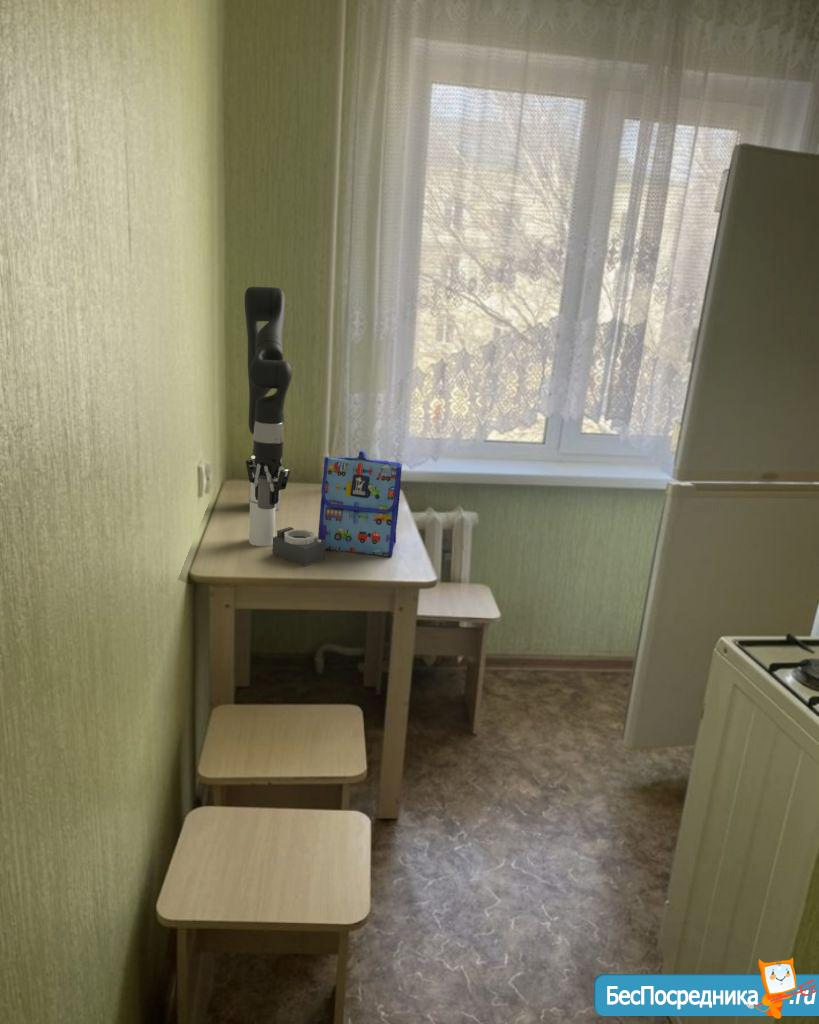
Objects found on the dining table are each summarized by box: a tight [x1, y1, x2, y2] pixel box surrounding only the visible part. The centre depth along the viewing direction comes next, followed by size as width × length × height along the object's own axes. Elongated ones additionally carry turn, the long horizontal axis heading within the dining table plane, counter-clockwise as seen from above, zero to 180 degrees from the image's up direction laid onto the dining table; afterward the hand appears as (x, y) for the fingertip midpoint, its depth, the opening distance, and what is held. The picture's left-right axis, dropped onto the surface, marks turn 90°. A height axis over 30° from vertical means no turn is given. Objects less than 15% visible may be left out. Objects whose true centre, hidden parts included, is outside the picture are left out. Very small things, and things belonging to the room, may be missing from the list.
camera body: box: [271, 526, 326, 567], centre depth 209 cm, size 12×8×7 cm, turn 56°
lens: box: [258, 475, 275, 509], centre depth 200 cm, size 4×4×9 cm
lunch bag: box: [317, 449, 403, 557], centre depth 218 cm, size 22×14×29 cm, turn 87°
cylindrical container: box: [248, 454, 276, 547], centre depth 215 cm, size 7×7×25 cm
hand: (266, 501), depth 200 cm, fingers closed on lens, 4 cm apart
